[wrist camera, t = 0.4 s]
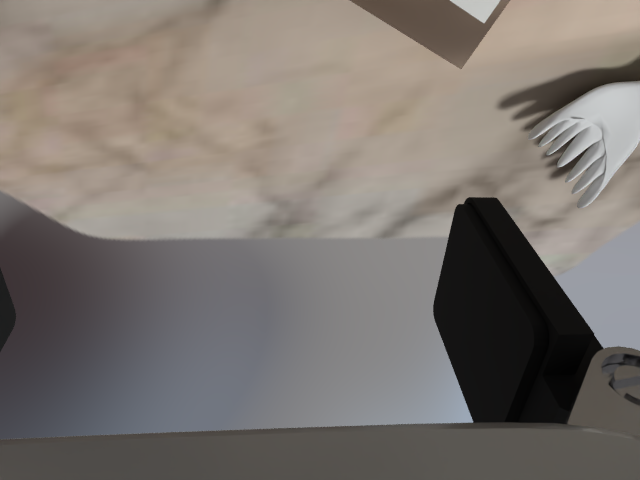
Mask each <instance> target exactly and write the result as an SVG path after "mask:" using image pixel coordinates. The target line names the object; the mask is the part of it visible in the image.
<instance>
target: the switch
mask: <svg viewBox="0 0 640 480" xmlns="http://www.w3.org/2000/svg"><path fill="white" fill-rule="evenodd" d="M450 1H451V2H453V3H454V4H456V5H457V6H459V7H460V8H462V9H463V10H465V11H466V12H468V13H469V14H471V15H472V16H474V17H475V18H477V19H478V20H480V21H481V22H483V23H485V22H486V20H487V19H488V17H489V16H490V15H491V13H492V12H493V10H494V9H495V8H496V6H497V5H498V3H499V2H500V0H450Z"/></svg>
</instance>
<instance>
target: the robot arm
mask: <svg viewBox="0 0 640 480" xmlns="http://www.w3.org/2000/svg"><path fill="white" fill-rule="evenodd" d="M433 312H434V319H435V322H436V325H437V327H438V330H439V332H440V335H441V338H442V340H443V343H444V346H445V348H446V351H447V354H448V356H449V359H450V361H451V364H452V367H453V369H454V372H455V375H456V377H457V380H458V382H459V385H460V388H461V390H462V393H463V396H464V398H465V401H466V403H467V406H468V409H469V411H470V414H471V417H472V419H473V422H474V423H442V424H441V423H436V424H398V425H397V424H396V425H366V426H335V427H307V428H306V427H305V428H278V429H277V428H274V429H250V430H249V429H248V430H221V431H197V432H196V431H195V432H167V433H142V434H117V435H92V436H68V437H45V438H23V439H0V480H640V351H638V350H635V349H632V348H626V347H608V348H605V349H604V348H603V347H602V346H601V344H600V343H599V341H598V340H597V339H596V337H595V336H594V333H593V331H592V330H591V329H590V327H589V326H588V324H587V323H586V322H585V320H584V319H583V317H582V316H581V315H580V313H579V312H578V310H577V309H576V308H575V306H574V305H573V303H572V302H571V301H570V299H569V298H568V296H567V295H566V294H565V292H564V291H563V289H562V288H561V287H560V285H559V284H558V283H557V281H556V280H555V278H554V277H553V275H552V274H551V273H550V271H549V270H548V268H547V267H546V266H545V264H544V263H543V261H542V260H541V259H540V257H539V256H538V254H537V253H536V252H535V250H534V249H533V247H532V246H531V245H530V243H529V242H528V240H527V239H526V238H525V236H524V235H523V233H522V232H521V231H520V229H519V228H518V226H517V225H516V224H515V222H514V221H513V220H512V218H511V217H510V215H509V214H508V213H507V211H506V210H505V208H504V207H503V206H502V204H501V203H500V201H499V200H498V199H497V198H475V197H469V198H467V199H466V201H465V202H464V204H459V205H457V207H456V209H455V212H454V217H453V221H452V225H451V230H450V234H449V238H448V243H447V247H446V252H445V256H444V261H443V265H442V269H441V274H440V278H439V282H438V287H437V291H436V295H435V300H434V305H433ZM15 319H16V313H15V309H14V305H13V303H12V300H11V297H10V294H9V291H8V289H7V286H6V283H5V280H4V277H3V274H2V272H1V269H0V351H1V349H2V348H3V346H4V344H5V342H6V340H7V338H8V337H9V335H10V333H11V331H12V330H13V327H14V325H15Z"/></svg>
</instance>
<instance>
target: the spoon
mask: <svg viewBox="0 0 640 480" xmlns="http://www.w3.org/2000/svg"><path fill="white" fill-rule="evenodd" d="M551 127H553V128H552V129H551V130H550V131H549V132H548V133H547V134H546V135H545V136H544V138H543V139H542V140H541V142H540V143H539V147H542V146H544V145H545V144H547V143H549V142H550V141H551V140H553V139H554V138H555V137H557V136H558V135H559V134H561V133H562V132H563V133H562V134H561V135H560V136H559V137H558V138H557V139H556V141H555V142H554V143H553V144H552V145H551V147H550V148H549V150H548V151H547V154H546V155H550V154H552V153H554V152H555V151H557V150H558V149H559V148H560V147H561V146H563V145H564V144H565V143H566V142H568V141H569V140H570V139H571V138H573V137H574V136H575V135H576V134H578V135H577V136H576V137H575V138H574V140H573V141H572V142H571V143H570V145H569V146H568V147H567V149H566V150H565V151H564V153H563V154H562V156H561V157H560V159H559V161H558V163H557V167H562V166H564V165H565V164H567V163H568V162H570V161H571V160H572V159H574V158H575V157H576V156H578V155H579V154H580V153H581V152H583V151H584V150H585V149H587V148H588V147H589V146H590V147H589V148H588V149H587V151H586V152H585V153H584V155H583V156H582V157H581V159H580V160H579V161H578V162H577V164H576V165H575V166H574V168H573V169H572V170H571V171H570V173H569V174H568V176H567V178H566V180H565V182H570V181H571V180H573V179H574V178H575V177H577V176H578V175H579V174H580V173H582V172H583V171H584V170H585V169H586V168H587V167H589V168H588V169H587V170H586V172H585V173H584V174H583V176H582V177H581V178H580V180H579V181H578V182H577V183H576V185H575V186H574V188H573V190H572V194H575V193H577V192H579V191H580V190H582V189H583V188H584V187H586V186H587V185H588V184H590V183H591V182H592V181H593V182H592V184H591V185H590V186H589V188H588V189H587V190H586V192H585V193H584V194H583V195H582V197H581V198H580V199H579V201H578V203H577V207H578V208H583V207H586V206H587V205H589V204H590V203H591V202H592V201H593V200H594V199H595V198H596V197H597V196H598V195H599V193H600V192H601V191H602V190H603V188H604V187H605V186H606V184H607V183H608V181H609V180H610V179H611V177H612V176H613V175H614V173H615V172H616V171H617V170H618V169H619V167H620V166H621V165H622V164H623V163H624V162H625V160H626V159H627V158H628V157H629V156H630V155H631V153H632V152H633V151H634V149H635V148H636V146H637V145H638V143H639V141H640V81H630V82H616V83H609V84H605V85H602V86H599V87H597V88H594V89H592V90H590V91H589V92H587V93H585V94H584V95H582V96H580V97H579V98H577V99H576V100H574V101H572V102H571V103H569V104H567V105H566V106H564V107H563V108H561V109H559V110H558V111H556V112H554V113H553V114H551V115H550V116H549V117H547V118H545V119H544V120H542V121H541V122H540V123H538V124H537V125H536V126H535V127H534V128H533V129H532V130H531V131H530V133H529V135H528V139H530V140H531V139H534V138H536V137H538V136H539V135H541V134H542V133H544V132H545V131H547V130H548V129H550V128H551Z"/></svg>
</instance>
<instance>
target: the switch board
mask: <svg viewBox="0 0 640 480" xmlns="http://www.w3.org/2000/svg"><path fill="white" fill-rule="evenodd" d="M350 1H352V2H353V3H355V4H357V5H358V6H360V7H361V8H363V9H365V10H366V11H368V12H369V13H371V14H373V15H374V16H376V17H378V18H379V19H381V20H382V21H384V22H386V23H387V24H389V25H390V26H392V27H394V28H395V29H397V30H399V31H400V32H402V33H403V34H405V35H407V36H408V37H410V38H411V39H413V40H415V41H416V42H418V43H420V44H421V45H423V46H424V47H426V48H428V49H429V50H431V51H432V52H434V53H436V54H437V55H439V56H441V57H442V58H444V59H445V60H447V61H449V62H450V63H452V64H453V65H455V66H457V67H458V68H460V69H462V67H463V66H464V65H465V63H466V62H467V60H468V59H469V57H470V56H471V55H472V53H473V52H474V50H475V49H476V48H477V46H478V45H479V43H480V42H481V41H482V39H483V38H484V36H485V35H486V34H487V32H488V31H489V29H490V28H491V27H492V25H493V24H494V22H495V21H496V19H497V18H498V17H499V15H500V14H501V12H502V11H503V10H504V8H505V7H506V5H507V4H508V3H509V1H510V0H500V2H499V3H498V5H497V6H496V8H495V9H494V10H493V12H492V13H491V15H490V16H489V17H488V19H487V20H486V22H485V23H483V22H481V21H480V20H478V19H477V18H475V17H474V16H472V15H471V14H469V13H468V12H466V11H465V10H463V9H462V8H460V7H459V6H457V5H456V4H454V3H453V2H451V1H450V0H350Z"/></svg>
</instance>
